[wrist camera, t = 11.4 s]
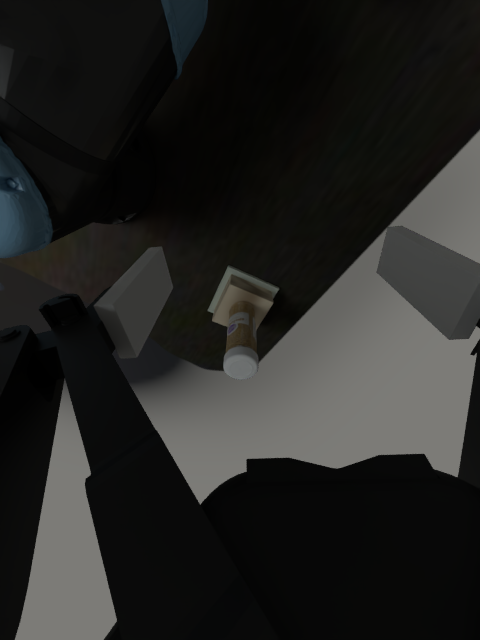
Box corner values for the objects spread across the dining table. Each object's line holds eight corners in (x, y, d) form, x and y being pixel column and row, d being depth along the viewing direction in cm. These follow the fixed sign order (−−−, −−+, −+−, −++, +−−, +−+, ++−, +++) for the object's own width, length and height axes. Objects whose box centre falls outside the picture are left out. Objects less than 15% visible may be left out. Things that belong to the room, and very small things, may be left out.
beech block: (214, 308, 47) (212, 320, 43) (231, 273, 42) (230, 284, 39) (251, 323, 48) (252, 336, 45) (271, 291, 44) (273, 302, 41)
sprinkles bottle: (236, 296, 40) (233, 350, 29) (260, 307, 42) (265, 364, 31) (224, 316, 43) (217, 373, 32) (246, 326, 44) (247, 385, 33)
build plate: (208, 308, 48) (207, 310, 47) (228, 264, 42) (228, 266, 42) (254, 326, 50) (254, 329, 49) (278, 287, 45) (279, 289, 44)
